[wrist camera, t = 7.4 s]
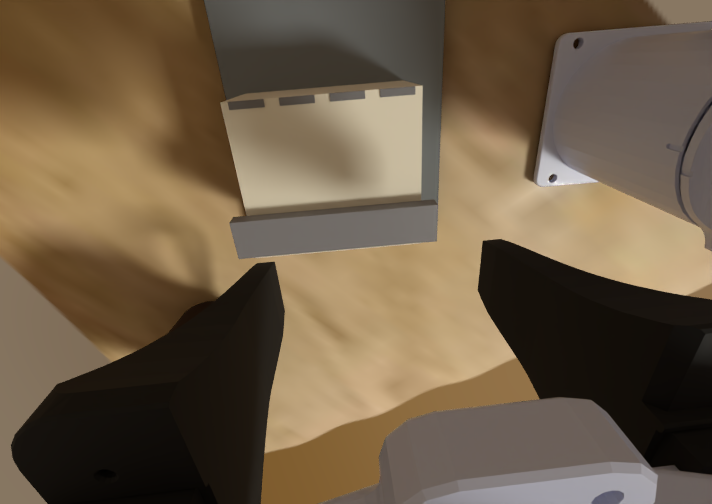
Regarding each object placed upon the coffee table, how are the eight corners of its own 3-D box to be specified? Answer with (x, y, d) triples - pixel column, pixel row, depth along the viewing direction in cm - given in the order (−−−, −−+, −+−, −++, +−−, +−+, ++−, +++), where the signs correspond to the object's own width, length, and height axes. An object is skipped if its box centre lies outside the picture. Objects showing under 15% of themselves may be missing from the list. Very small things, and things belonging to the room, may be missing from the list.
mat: (450, -346, 13) (458, -376, 12) (433, 223, 23) (436, 229, 22) (139, -325, 13) (124, -355, 12) (261, 238, 23) (259, 245, 22)
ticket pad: (414, 79, 18) (442, 85, 14) (414, 208, 21) (436, 248, 17) (233, 94, 18) (198, 105, 13) (260, 222, 21) (240, 266, 17)
